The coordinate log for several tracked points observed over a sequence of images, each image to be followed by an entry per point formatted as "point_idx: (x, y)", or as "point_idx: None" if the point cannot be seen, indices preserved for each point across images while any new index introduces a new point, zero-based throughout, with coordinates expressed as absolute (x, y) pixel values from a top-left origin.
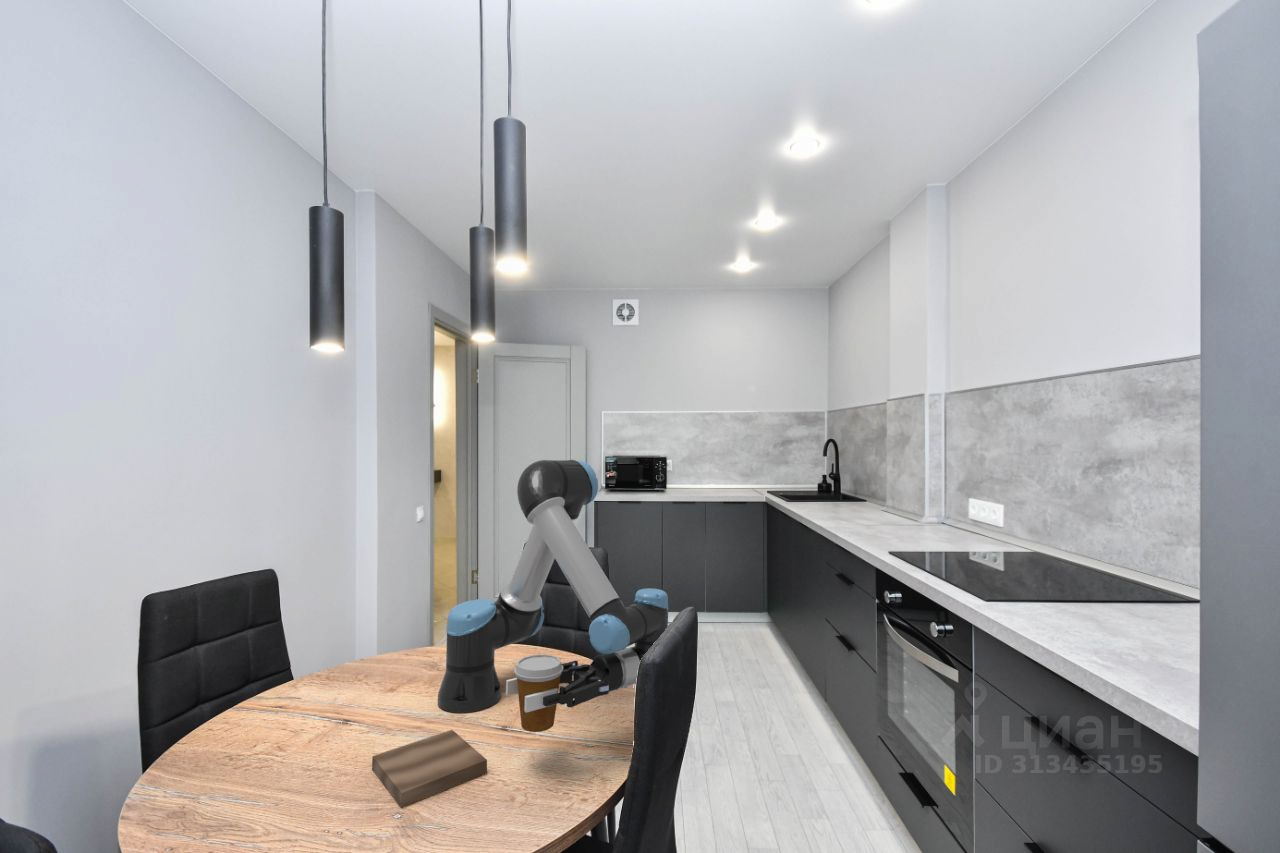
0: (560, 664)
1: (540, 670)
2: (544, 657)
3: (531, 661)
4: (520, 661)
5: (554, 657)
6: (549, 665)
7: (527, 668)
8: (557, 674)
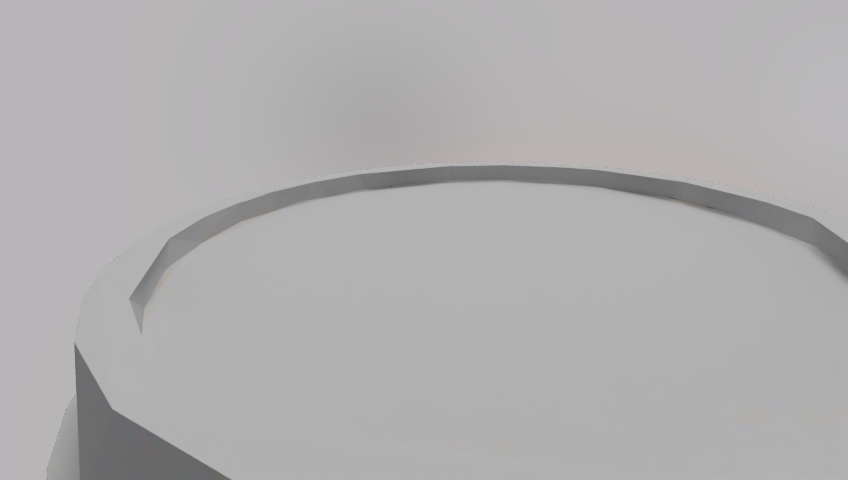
0: (113, 442)
1: (216, 204)
2: (845, 328)
3: (613, 223)
4: (607, 181)
5: (814, 458)
6: (327, 301)
7: (406, 195)
8: (67, 436)
